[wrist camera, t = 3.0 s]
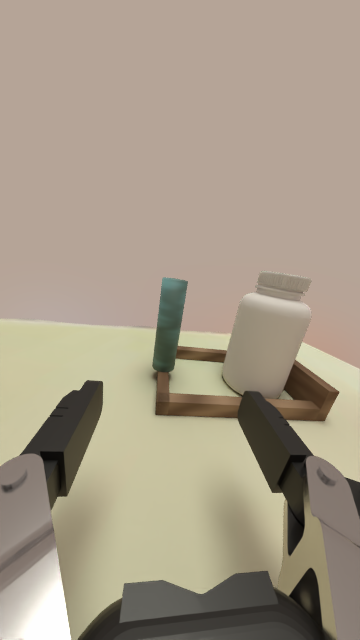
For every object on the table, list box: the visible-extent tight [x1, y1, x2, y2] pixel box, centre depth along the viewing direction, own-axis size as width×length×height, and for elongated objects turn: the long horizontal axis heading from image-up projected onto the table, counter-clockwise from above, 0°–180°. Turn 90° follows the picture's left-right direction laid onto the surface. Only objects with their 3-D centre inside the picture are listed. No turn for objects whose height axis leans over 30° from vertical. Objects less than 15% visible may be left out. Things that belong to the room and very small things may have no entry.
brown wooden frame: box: [153, 278, 339, 421], centre depth 22 cm, size 20×12×13 cm, turn 96°
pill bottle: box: [222, 271, 311, 399], centre depth 22 cm, size 8×8×15 cm
